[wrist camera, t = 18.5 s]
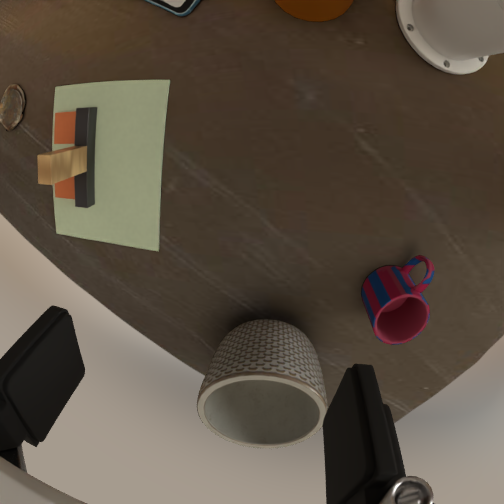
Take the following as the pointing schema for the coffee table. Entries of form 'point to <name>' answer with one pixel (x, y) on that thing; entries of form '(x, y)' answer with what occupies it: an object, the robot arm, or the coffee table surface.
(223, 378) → the planter
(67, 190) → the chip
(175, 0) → the smartphone
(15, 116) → the decorative disc
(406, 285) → the cup
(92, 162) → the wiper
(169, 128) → the coffee table surface
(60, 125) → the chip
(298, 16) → the mug
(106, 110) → the mat
